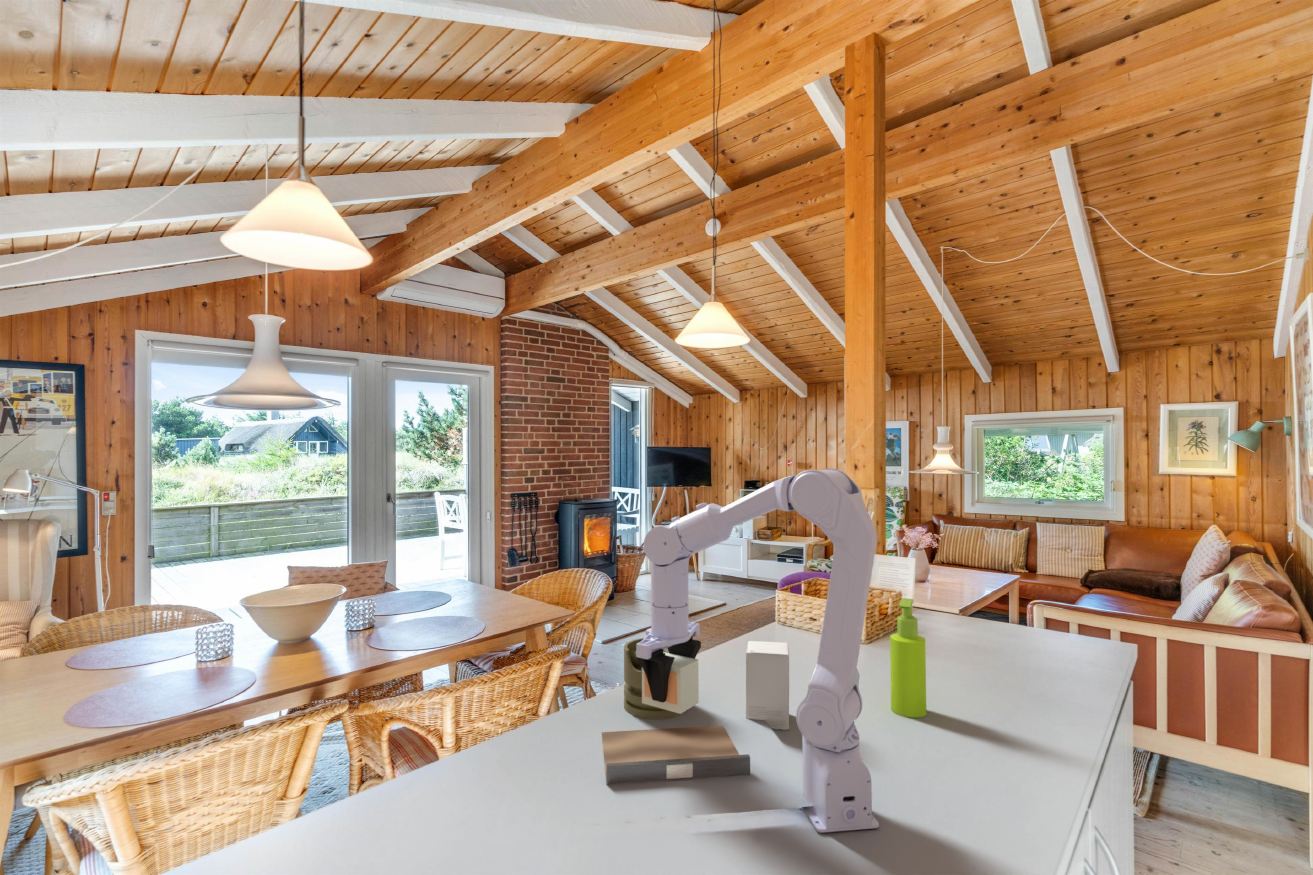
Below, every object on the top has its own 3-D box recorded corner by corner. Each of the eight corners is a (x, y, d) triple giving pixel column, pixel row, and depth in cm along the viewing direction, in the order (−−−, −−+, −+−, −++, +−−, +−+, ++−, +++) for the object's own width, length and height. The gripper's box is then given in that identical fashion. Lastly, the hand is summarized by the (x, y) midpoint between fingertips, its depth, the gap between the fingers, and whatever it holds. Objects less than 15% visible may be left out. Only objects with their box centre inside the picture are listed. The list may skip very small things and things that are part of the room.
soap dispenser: (888, 715, 110) (886, 601, 110) (893, 702, 116) (891, 594, 116) (924, 722, 107) (922, 605, 107) (927, 708, 113) (926, 597, 113)
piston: (646, 633, 118) (698, 643, 112) (646, 697, 118) (698, 710, 112) (611, 649, 109) (666, 660, 103) (611, 718, 109) (666, 733, 103)
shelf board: (750, 785, 86) (750, 774, 86) (606, 795, 84) (606, 784, 84) (723, 734, 102) (723, 725, 102) (601, 741, 100) (601, 732, 100)
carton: (660, 692, 98) (660, 651, 98) (698, 702, 94) (698, 659, 94) (640, 703, 94) (640, 660, 94) (679, 714, 90) (679, 669, 90)
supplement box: (789, 731, 103) (789, 654, 104) (744, 727, 105) (744, 651, 105) (789, 713, 111) (788, 641, 111) (747, 709, 112) (747, 639, 113)
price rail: (750, 775, 86) (750, 757, 86) (606, 785, 84) (606, 766, 84) (748, 771, 87) (748, 754, 87) (606, 781, 85) (606, 763, 85)
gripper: (673, 591, 103) (673, 674, 102) (619, 609, 91) (619, 703, 90) (710, 597, 99) (711, 683, 98) (659, 616, 87) (659, 715, 86)
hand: (669, 694), depth 94 cm, fingers closed on carton, 5 cm apart
